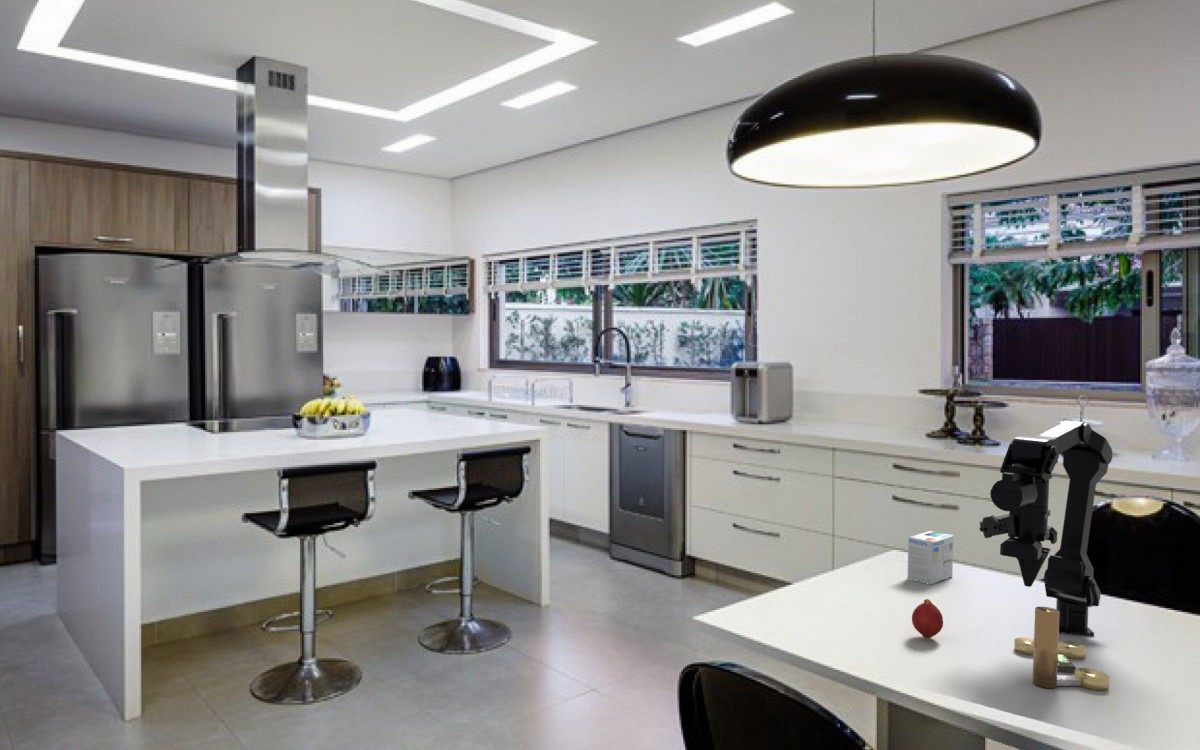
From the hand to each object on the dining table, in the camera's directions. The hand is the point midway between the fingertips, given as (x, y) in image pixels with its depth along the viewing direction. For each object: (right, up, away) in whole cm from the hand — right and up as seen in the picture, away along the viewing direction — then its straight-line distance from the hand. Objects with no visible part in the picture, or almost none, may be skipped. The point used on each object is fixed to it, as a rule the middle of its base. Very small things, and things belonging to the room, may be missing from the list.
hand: (1028, 586), depth 154 cm
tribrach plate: (+1, -13, -9) cm, 16 cm away
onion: (-16, -13, +8) cm, 22 cm away
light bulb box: (+1, -11, +48) cm, 50 cm away
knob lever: (-1, -12, -16) cm, 20 cm away
